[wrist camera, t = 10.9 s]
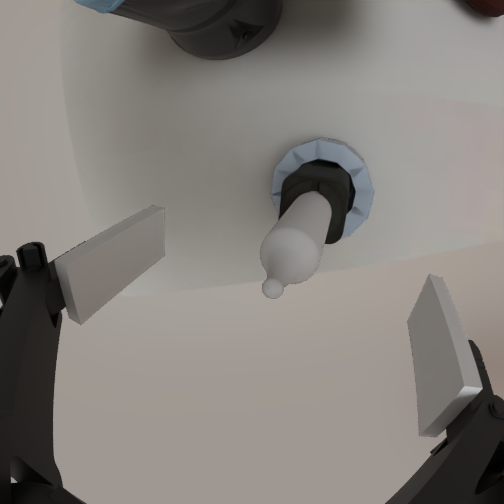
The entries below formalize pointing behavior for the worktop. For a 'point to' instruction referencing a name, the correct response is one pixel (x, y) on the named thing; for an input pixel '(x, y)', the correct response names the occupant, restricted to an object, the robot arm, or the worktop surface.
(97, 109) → the worktop surface
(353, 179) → the pale blue faceted cup
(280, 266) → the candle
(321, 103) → the worktop surface
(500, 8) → the potato
